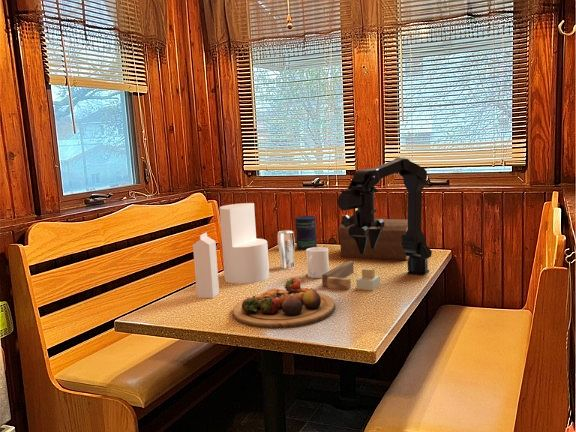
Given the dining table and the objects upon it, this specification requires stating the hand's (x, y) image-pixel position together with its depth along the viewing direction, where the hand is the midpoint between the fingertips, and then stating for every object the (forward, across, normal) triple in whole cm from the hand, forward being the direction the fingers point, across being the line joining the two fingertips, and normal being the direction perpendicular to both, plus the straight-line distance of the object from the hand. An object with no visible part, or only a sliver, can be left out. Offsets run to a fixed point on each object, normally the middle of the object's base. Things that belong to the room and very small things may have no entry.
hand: (367, 251), depth 195 cm
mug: (+13, -6, -24) cm, 28 cm away
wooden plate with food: (+13, +34, -14) cm, 39 cm away
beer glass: (+13, -15, -42) cm, 46 cm away
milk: (+13, +29, -48) cm, 58 cm away
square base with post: (+13, 0, 0) cm, 13 cm away
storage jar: (+13, -51, -53) cm, 75 cm away
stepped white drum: (+13, +4, -49) cm, 51 cm away
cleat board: (+13, -5, -10) cm, 17 cm away
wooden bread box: (+13, -48, -16) cm, 52 cm away
